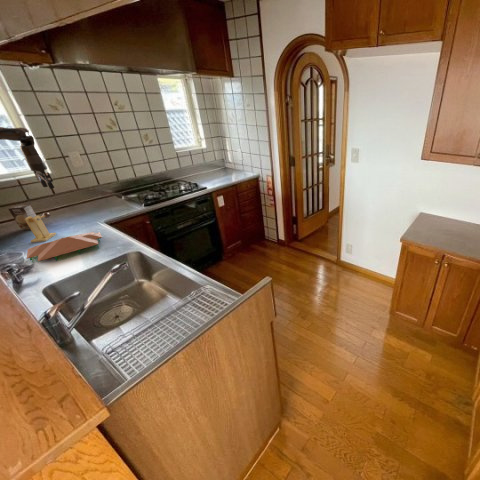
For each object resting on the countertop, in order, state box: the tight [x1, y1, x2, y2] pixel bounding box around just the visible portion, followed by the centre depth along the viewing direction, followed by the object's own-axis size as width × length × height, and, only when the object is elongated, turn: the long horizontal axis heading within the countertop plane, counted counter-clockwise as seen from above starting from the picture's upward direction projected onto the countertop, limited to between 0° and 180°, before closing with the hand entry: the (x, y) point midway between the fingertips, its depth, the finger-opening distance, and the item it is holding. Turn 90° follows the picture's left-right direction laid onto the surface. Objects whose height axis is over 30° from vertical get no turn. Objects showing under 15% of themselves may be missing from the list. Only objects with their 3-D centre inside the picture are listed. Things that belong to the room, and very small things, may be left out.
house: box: [26, 231, 103, 262], centre depth 150 cm, size 23×33×8 cm
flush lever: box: [29, 212, 51, 222], centre depth 167 cm, size 14×4×4 cm, turn 12°
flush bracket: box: [25, 214, 57, 243], centre depth 164 cm, size 10×8×15 cm
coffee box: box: [8, 204, 37, 231], centre depth 180 cm, size 9×6×16 cm
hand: (49, 187), depth 171 cm, fingers open, 8 cm apart
